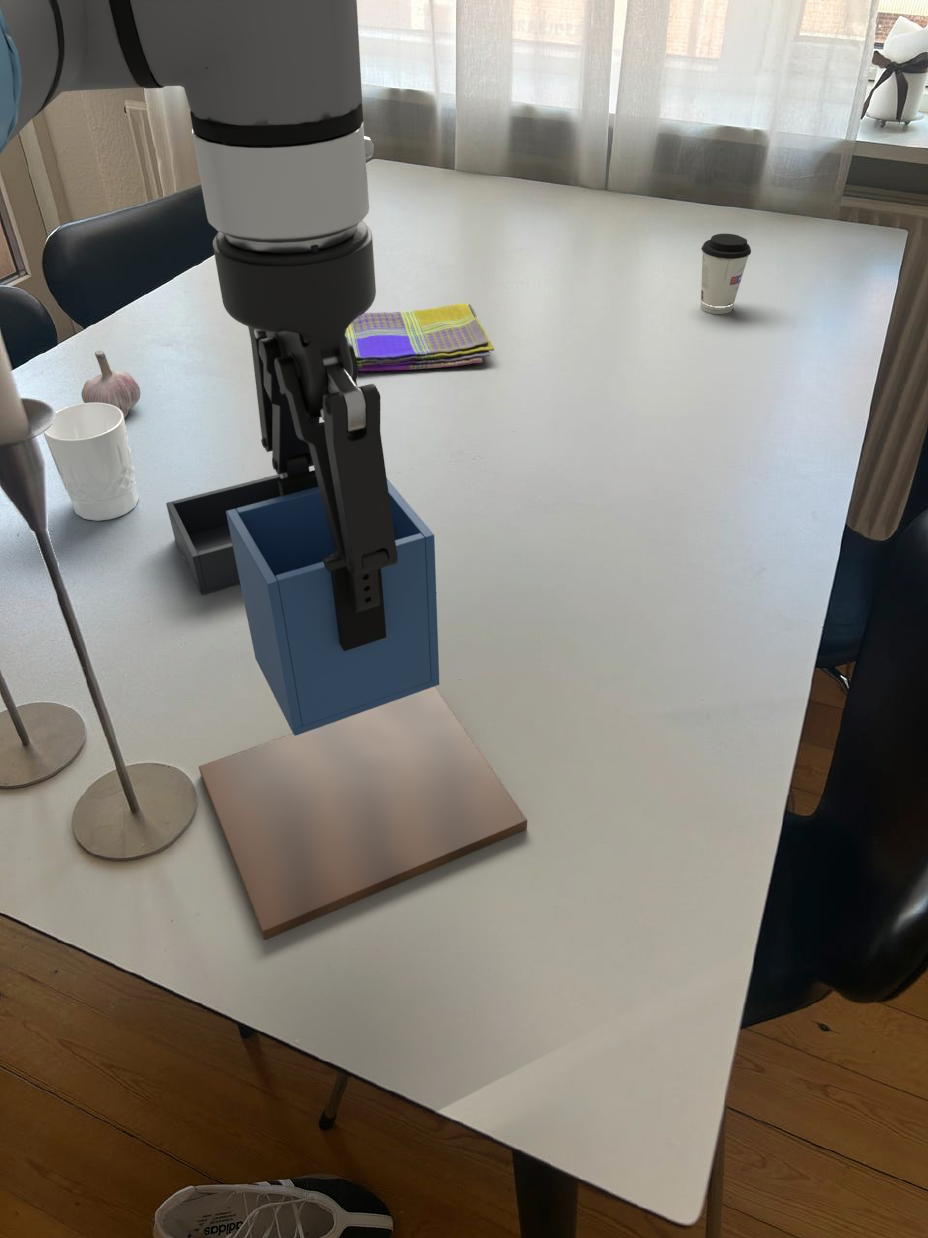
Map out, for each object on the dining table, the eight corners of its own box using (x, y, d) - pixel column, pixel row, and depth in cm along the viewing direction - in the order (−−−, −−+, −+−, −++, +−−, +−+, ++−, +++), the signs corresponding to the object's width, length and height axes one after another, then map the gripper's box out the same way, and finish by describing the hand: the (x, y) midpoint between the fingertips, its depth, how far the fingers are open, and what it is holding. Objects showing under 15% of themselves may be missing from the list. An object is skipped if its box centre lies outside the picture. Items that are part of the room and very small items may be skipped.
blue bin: (294, 736, 60) (267, 584, 52) (255, 658, 65) (225, 510, 57) (439, 685, 63) (434, 534, 55) (391, 615, 69) (380, 469, 61)
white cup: (157, 488, 106) (137, 406, 100) (122, 529, 100) (98, 444, 94) (92, 480, 107) (68, 398, 101) (54, 519, 102) (25, 435, 95)
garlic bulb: (127, 427, 116) (111, 366, 111) (72, 422, 118) (53, 360, 112) (155, 398, 122) (141, 338, 117) (102, 393, 123) (85, 333, 118)
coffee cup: (685, 311, 142) (696, 242, 135) (701, 295, 147) (711, 227, 140) (732, 320, 139) (745, 250, 133) (746, 303, 144) (759, 235, 138)
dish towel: (309, 324, 139) (307, 305, 137) (476, 314, 142) (476, 295, 140) (311, 379, 126) (309, 359, 124) (495, 366, 128) (495, 347, 127)
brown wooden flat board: (264, 940, 64) (262, 932, 63) (200, 774, 75) (198, 766, 74) (527, 829, 71) (527, 820, 70) (433, 692, 82) (433, 683, 81)
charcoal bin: (201, 595, 92) (192, 557, 89) (174, 539, 99) (165, 502, 96) (322, 560, 96) (317, 522, 93) (288, 509, 103) (283, 472, 100)
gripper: (462, 285, 40) (465, 683, 54) (294, 158, 54) (333, 502, 69) (287, 320, 37) (341, 728, 52) (159, 177, 51) (230, 530, 66)
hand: (336, 599), depth 60 cm, fingers closed on blue bin, 8 cm apart
